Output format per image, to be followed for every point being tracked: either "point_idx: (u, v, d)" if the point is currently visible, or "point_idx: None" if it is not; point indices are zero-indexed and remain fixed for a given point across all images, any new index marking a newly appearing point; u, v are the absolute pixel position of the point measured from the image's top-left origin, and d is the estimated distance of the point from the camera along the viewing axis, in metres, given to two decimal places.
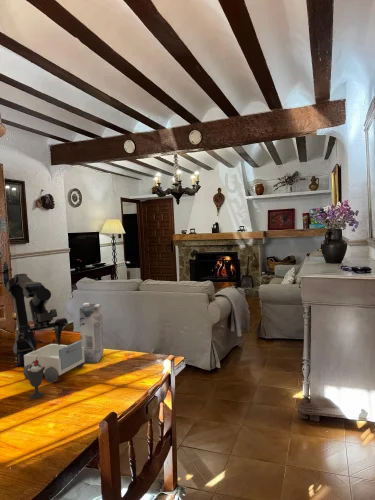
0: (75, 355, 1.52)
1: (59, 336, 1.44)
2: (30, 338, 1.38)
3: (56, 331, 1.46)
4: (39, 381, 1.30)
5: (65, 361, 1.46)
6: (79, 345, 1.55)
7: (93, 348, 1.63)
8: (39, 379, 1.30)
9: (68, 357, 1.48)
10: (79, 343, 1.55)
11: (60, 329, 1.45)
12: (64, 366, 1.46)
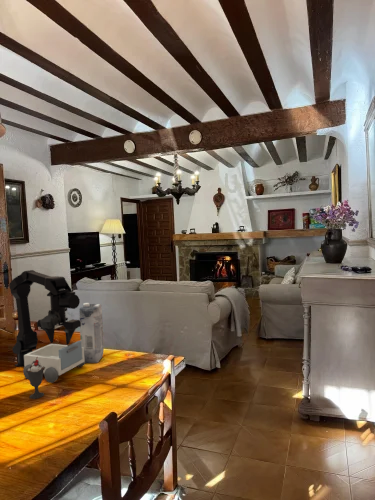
0: (75, 355, 1.52)
1: (66, 337, 1.49)
2: (46, 332, 1.52)
3: None
4: (39, 381, 1.30)
5: (65, 361, 1.46)
6: (79, 345, 1.55)
7: (93, 348, 1.63)
8: (39, 379, 1.30)
9: (68, 357, 1.48)
10: (79, 343, 1.55)
11: (66, 332, 1.48)
12: (64, 366, 1.46)
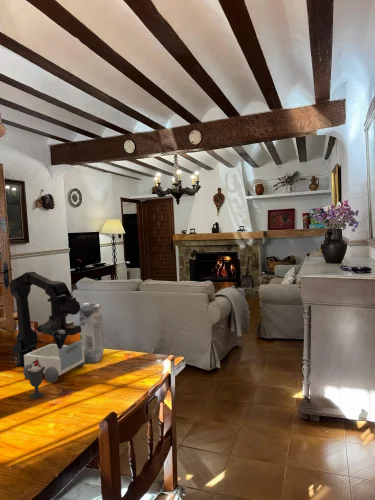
0: (75, 355, 1.52)
1: (59, 342, 1.51)
2: (54, 338, 1.51)
3: None
4: (39, 381, 1.30)
5: (65, 361, 1.46)
6: (79, 345, 1.55)
7: (93, 348, 1.63)
8: (39, 379, 1.30)
9: (68, 357, 1.48)
10: (79, 343, 1.55)
11: (59, 337, 1.50)
12: (64, 366, 1.46)
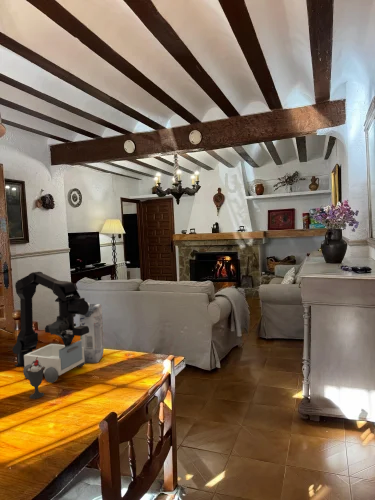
0: (75, 355, 1.52)
1: (66, 343, 1.49)
2: (62, 339, 1.50)
3: None
4: (39, 381, 1.30)
5: (65, 361, 1.46)
6: (79, 345, 1.55)
7: (93, 348, 1.63)
8: (39, 379, 1.30)
9: (68, 357, 1.48)
10: (79, 343, 1.55)
11: (66, 337, 1.48)
12: (64, 366, 1.46)
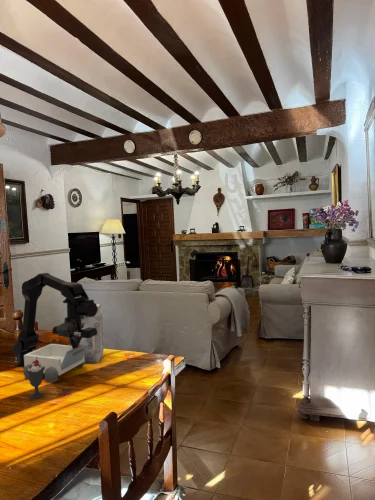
0: (78, 356, 1.52)
1: (74, 344, 1.48)
2: (70, 340, 1.48)
3: None
4: (39, 381, 1.30)
5: (68, 362, 1.46)
6: (85, 347, 1.54)
7: (93, 348, 1.63)
8: (39, 379, 1.30)
9: (72, 359, 1.47)
10: (86, 346, 1.53)
11: (74, 339, 1.47)
12: (65, 366, 1.46)
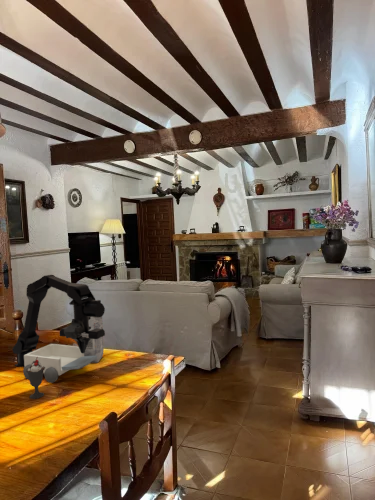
0: None
1: (82, 346, 1.47)
2: (77, 342, 1.47)
3: None
4: (39, 381, 1.30)
5: None
6: None
7: (93, 348, 1.63)
8: (39, 379, 1.30)
9: None
10: None
11: (82, 341, 1.45)
12: None
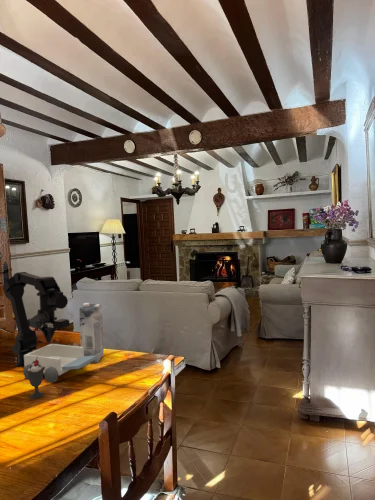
0: None
1: (48, 336, 1.53)
2: (43, 332, 1.53)
3: None
4: (39, 381, 1.30)
5: None
6: None
7: (93, 348, 1.63)
8: (39, 379, 1.30)
9: None
10: None
11: (47, 330, 1.52)
12: None
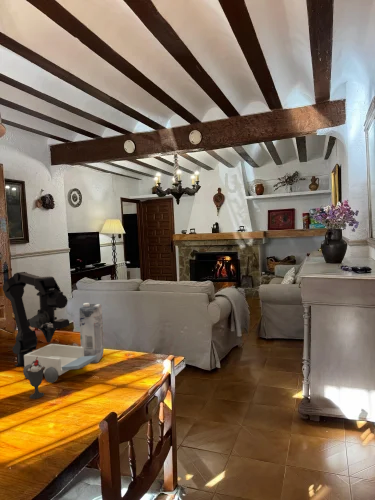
0: None
1: (48, 336, 1.53)
2: (43, 332, 1.53)
3: None
4: (39, 381, 1.30)
5: None
6: None
7: (93, 348, 1.63)
8: (39, 379, 1.30)
9: None
10: None
11: (47, 330, 1.52)
12: None
